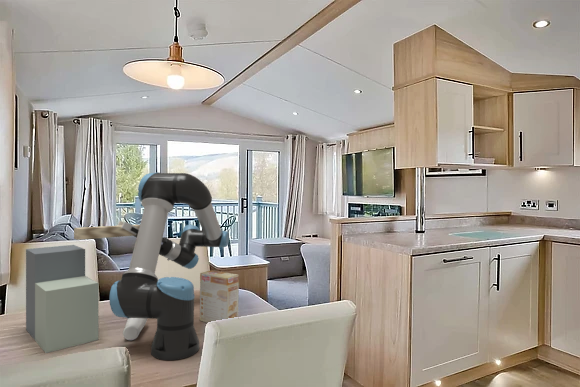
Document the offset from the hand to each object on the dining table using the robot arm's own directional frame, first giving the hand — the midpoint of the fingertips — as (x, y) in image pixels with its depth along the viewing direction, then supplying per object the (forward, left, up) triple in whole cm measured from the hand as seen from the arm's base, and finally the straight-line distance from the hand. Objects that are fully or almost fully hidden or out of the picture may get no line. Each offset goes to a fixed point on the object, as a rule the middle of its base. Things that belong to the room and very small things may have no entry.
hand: (120, 224), depth 154 cm
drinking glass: (-23, -5, -36) cm, 43 cm away
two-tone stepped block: (-9, +19, -39) cm, 44 cm away
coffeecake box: (-13, -37, -39) cm, 55 cm away
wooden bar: (-2, +4, -5) cm, 6 cm away
